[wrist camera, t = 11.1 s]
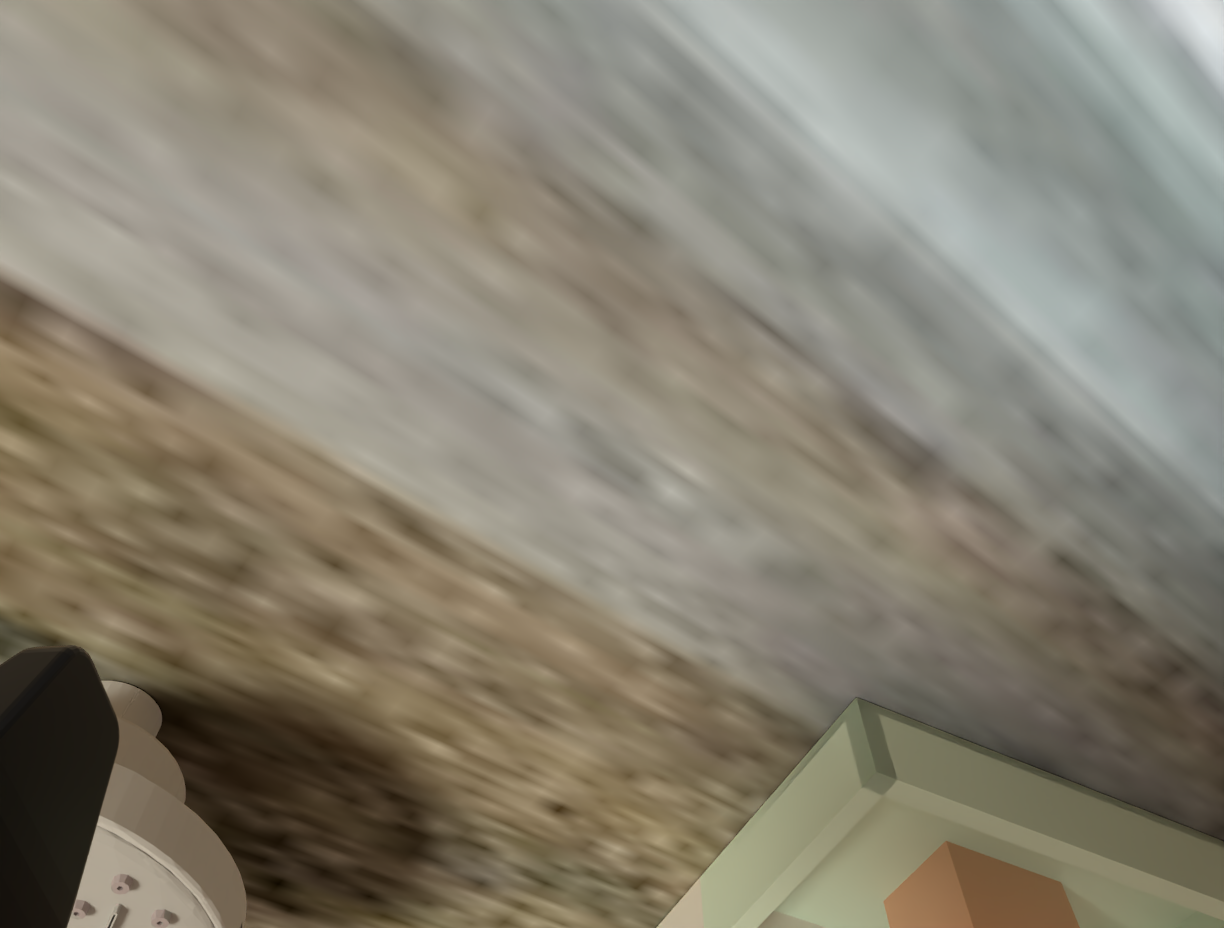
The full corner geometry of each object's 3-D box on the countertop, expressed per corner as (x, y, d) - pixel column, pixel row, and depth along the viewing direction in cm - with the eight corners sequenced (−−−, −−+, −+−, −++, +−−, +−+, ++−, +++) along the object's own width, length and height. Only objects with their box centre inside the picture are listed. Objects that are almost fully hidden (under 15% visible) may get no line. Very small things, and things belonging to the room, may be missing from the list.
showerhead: (-356, 760, 17) (253, 895, 19) (-100, 508, 23) (342, 629, 25) (-307, 1053, 22) (179, 1139, 24) (-105, 779, 28) (268, 864, 30)
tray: (856, 697, 26) (876, 772, 24) (1270, 859, 30) (1318, 937, 28) (700, 877, 30) (706, 955, 28) (1082, 1003, 33) (1112, 1080, 31)
